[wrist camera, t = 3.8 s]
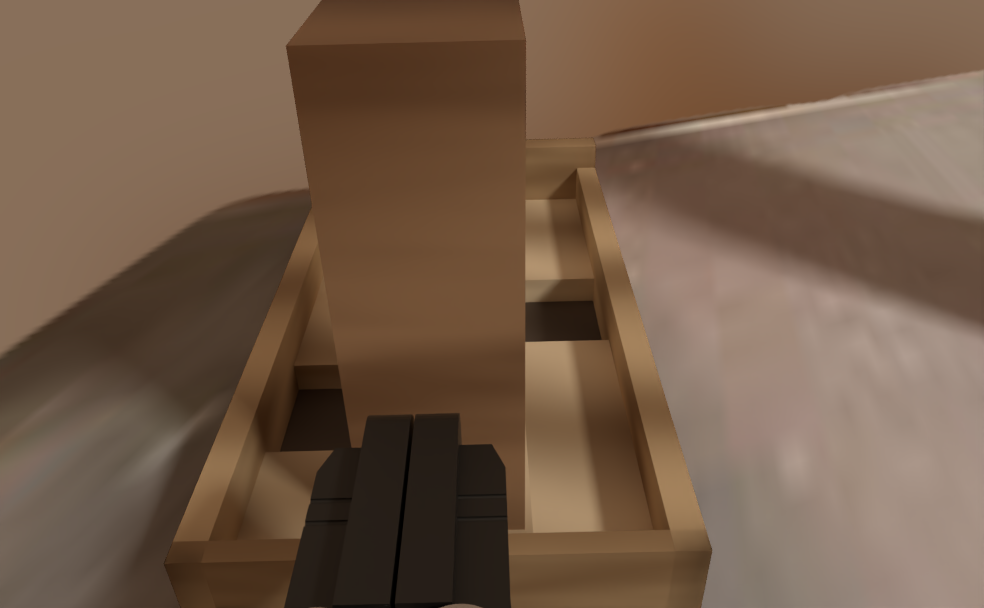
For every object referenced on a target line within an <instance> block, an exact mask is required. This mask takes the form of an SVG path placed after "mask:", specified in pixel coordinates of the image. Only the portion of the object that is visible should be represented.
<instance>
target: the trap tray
mask: <svg viewBox="0 0 984 608" xmlns="http://www.w3.org/2000/svg"><path fill="white" fill-rule="evenodd" d="M595 155H596V145H595V142H594V139H593V138H570V139H533V140H532V139H529V140H526V235H525V530H508V545H509V572H510V598H511V608H701V605H702V600H703V595H704V590H705V585H706V580H707V574H708V569H709V564H710V559H711V554H712V548H711V545H710V541H709V538H708V535H707V532H706V528H705V525H704V522H703V519H702V515H701V512H700V509H699V506H698V502H697V499H696V496H695V493H694V489H693V486H692V483H691V479H690V476H689V473H688V470H687V466H686V463H685V460H684V457H683V453H682V450H681V447H680V444H679V440H678V437H677V434H676V431H675V427H674V424H673V421H672V418H671V414H670V411H669V408H668V405H667V401H666V398H665V395H664V391H663V388H662V385H661V382H660V378H659V375H658V372H657V369H656V365H655V362H654V359H653V356H652V352H651V349H650V346H649V343H648V339H647V336H646V333H645V330H644V326H643V323H642V320H641V317H640V313H639V310H638V307H637V303H636V300H635V297H634V294H633V290H632V287H631V284H630V281H629V277H628V274H627V271H626V268H625V264H624V261H623V258H622V255H621V251H620V248H619V245H618V242H617V238H616V235H615V232H614V228H613V225H612V222H611V219H610V215H609V212H608V209H607V206H606V202H605V199H604V196H603V193H602V189H601V186H600V183H599V180H598V176H597V173H596V170H595ZM335 448H351V442H350V436H349V429H348V423H347V417H346V411H345V405H344V399H343V393H342V386H341V380H340V374H339V368H338V362H337V356H336V350H335V343H334V337H333V331H332V325H331V319H330V313H329V307H328V300H327V294H326V288H325V282H324V276H323V270H322V264H321V258H320V251H319V245H318V239H317V233H316V227H315V221H314V215H313V208H312V207H311V209H310V212H309V214H308V217H307V219H306V221H305V224H304V226H303V229H302V231H301V234H300V236H299V238H298V241H297V243H296V246H295V248H294V250H293V253H292V255H291V258H290V260H289V262H288V265H287V267H286V270H285V272H284V275H283V277H282V279H281V282H280V284H279V287H278V289H277V291H276V294H275V296H274V299H273V301H272V304H271V306H270V308H269V311H268V313H267V316H266V318H265V320H264V323H263V325H262V328H261V330H260V332H259V335H258V337H257V340H256V342H255V345H254V347H253V349H252V352H251V354H250V357H249V359H248V361H247V364H246V366H245V369H244V371H243V374H242V376H241V378H240V381H239V383H238V386H237V388H236V390H235V393H234V395H233V398H232V400H231V402H230V405H229V407H228V410H227V412H226V415H225V417H224V419H223V422H222V424H221V427H220V429H219V431H218V434H217V436H216V439H215V441H214V444H213V446H212V448H211V451H210V453H209V456H208V458H207V460H206V463H205V465H204V468H203V470H202V472H201V475H200V477H199V480H198V482H197V485H196V487H195V489H194V492H193V494H192V497H191V499H190V501H189V504H188V506H187V509H186V511H185V514H184V516H183V518H182V521H181V523H180V526H179V528H178V530H177V533H176V535H175V538H174V540H173V542H172V545H171V547H170V550H169V552H168V555H167V557H166V559H165V562H164V566H165V568H166V571H167V573H168V576H169V579H170V581H171V584H172V586H173V589H174V592H175V594H176V597H177V599H178V602H179V605H180V607H181V608H284V605H285V601H286V597H287V593H288V589H289V584H290V580H291V576H292V572H293V568H294V564H295V560H296V556H297V551H298V547H299V543H300V539H301V535H302V531H303V527H304V526H305V519H306V514H307V510H308V506H309V504H310V498H311V494H312V490H313V486H314V481H315V477H316V473H317V471H318V470H319V468H320V467H321V466H322V465H323V463H324V462H325V461H326V460H327V458H328V457H329V456H330V454H331V453H332V452H333V451H334V449H335Z"/></svg>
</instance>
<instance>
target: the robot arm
mask: <svg viewBox="0 0 984 608" xmlns="http://www.w3.org/2000/svg"><path fill="white" fill-rule="evenodd" d="M284 608H511V598H510V572H509V545H508V519H507V491H506V467H505V465H504V464H503V462H502V460H501V459H500V457H499V455H498V454H497V452H496V450H495V449H494V447H493V445H492V444H475V445H462V438H461V421H460V413H436V414H416V415H415V419H414V417H413V415H412V414H404V415H369V416H368V417H367V420H366V424H365V430H364V435H363V441H362V446H361V448H335V449H334V451H333V452H332V453H331V454H330V456H329V457H328V458H327V460H326V461H325V462H324V463H323V465H322V466H321V467H320V468H319V470H318V471H317V473H316V477H315V481H314V486H313V490H312V494H311V498H310V504H309V506H308V510H307V514H306V519H305V526H304V527H303V531H302V535H301V539H300V543H299V547H298V551H297V556H296V560H295V564H294V568H293V572H292V576H291V580H290V584H289V589H288V593H287V597H286V601H285V605H284Z"/></svg>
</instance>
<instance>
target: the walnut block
mask: <svg viewBox="0 0 984 608" xmlns="http://www.w3.org/2000/svg"><path fill="white" fill-rule="evenodd" d="M286 49H287V55H288V60H289V67H290V73H291V79H292V86H293V92H294V98H295V104H296V110H297V116H298V122H299V128H300V135H301V141H302V146H303V153H304V159H305V165H306V171H307V178H308V183H309V190H310V196H311V202H312V208H313V215H314V221H315V227H316V233H317V239H318V245H319V251H320V258H321V264H322V270H323V276H324V282H325V288H326V294H327V300H328V307H329V313H330V319H331V325H332V331H333V337H334V343H335V350H336V356H337V362H338V368H339V374H340V380H341V386H342V393H343V399H344V405H345V411H346V417H347V423H348V429H349V436H350V442H351V448H361V446H362V441H363V435H364V430H365V424H366V420H367V417H368V416H369V415H404V414H412V415H413V417H414V419H415V415H416V414H436V413H460V421H461V438H462V445H475V444H492V445H493V447H494V449H495V450H496V452H497V454H498V455H499V457H500V459H501V460H502V462H503V464H504V465H505V467H506V491H507V519H508V530H525V235H526V38H525V32H524V27H523V22H522V16H521V11H520V5H519V0H322V1H321V2H320V3H319V4H318V6H317V7H316V8H315V10H314V11H313V12H312V13H311V15H310V16H309V17H308V19H307V20H306V21H305V22H304V24H303V25H302V26H301V27H300V29H299V30H298V31H297V33H296V34H295V35H294V36H293V38H292V39H291V40H290V42H289V43H288V44H287V45H286Z"/></svg>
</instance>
